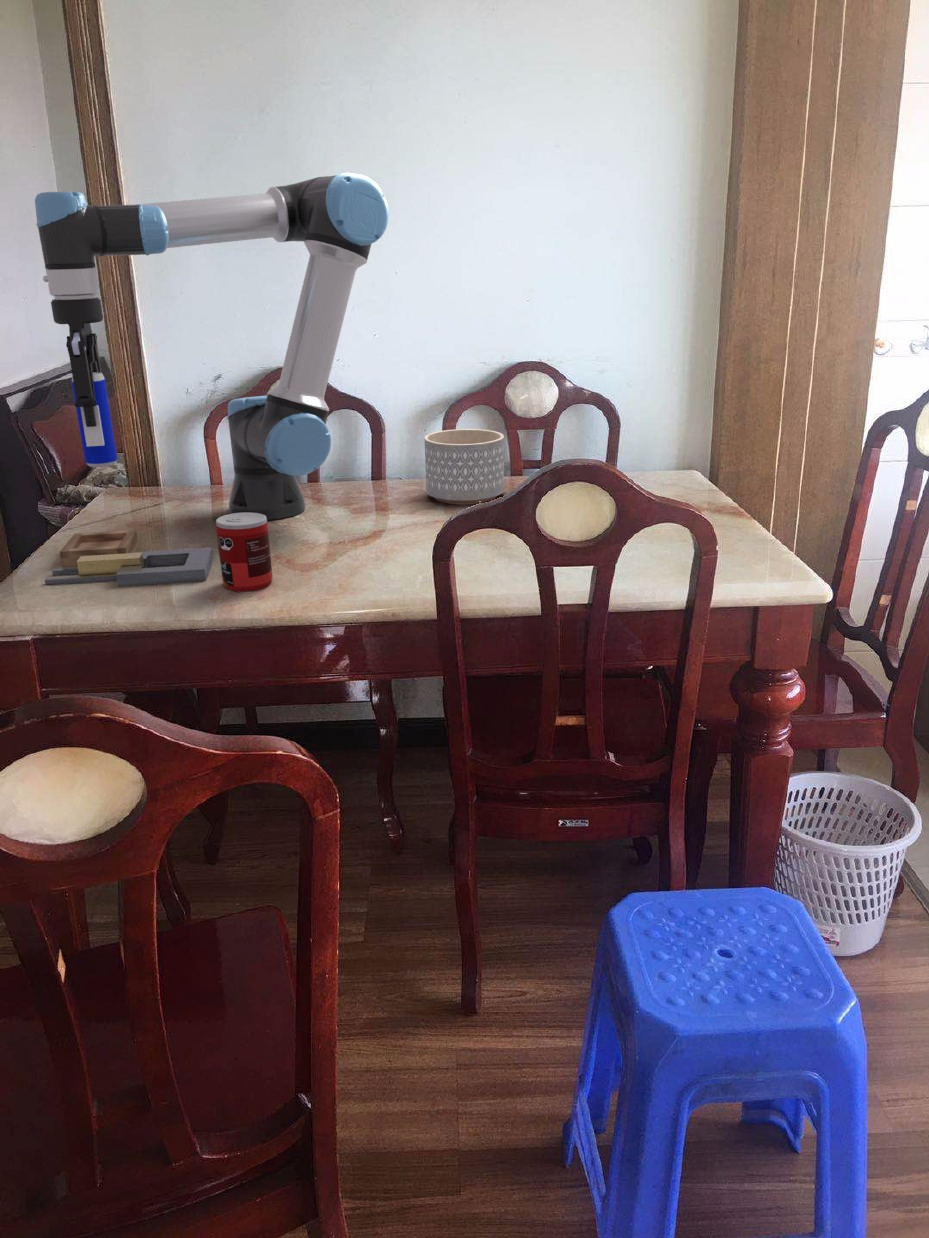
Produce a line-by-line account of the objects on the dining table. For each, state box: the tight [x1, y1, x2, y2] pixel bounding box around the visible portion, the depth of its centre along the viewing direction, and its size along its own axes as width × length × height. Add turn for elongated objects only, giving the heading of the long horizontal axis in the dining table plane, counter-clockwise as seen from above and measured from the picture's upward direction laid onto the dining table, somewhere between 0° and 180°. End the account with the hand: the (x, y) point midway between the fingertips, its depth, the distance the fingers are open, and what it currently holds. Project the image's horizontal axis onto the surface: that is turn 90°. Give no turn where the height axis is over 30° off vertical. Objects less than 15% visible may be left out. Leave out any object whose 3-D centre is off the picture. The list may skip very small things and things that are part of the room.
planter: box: [423, 428, 505, 505], centre depth 208 cm, size 16×16×13 cm
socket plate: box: [44, 547, 214, 587], centre depth 167 cm, size 26×12×2 cm, turn 98°
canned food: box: [215, 512, 273, 593], centre depth 159 cm, size 8×8×11 cm
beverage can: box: [71, 371, 118, 468], centre depth 166 cm, size 5×5×15 cm
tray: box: [59, 529, 140, 568], centre depth 177 cm, size 11×11×3 cm
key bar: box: [76, 553, 145, 576], centre depth 166 cm, size 10×3×3 cm, turn 98°
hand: (98, 441), depth 167 cm, fingers closed on beverage can, 5 cm apart
